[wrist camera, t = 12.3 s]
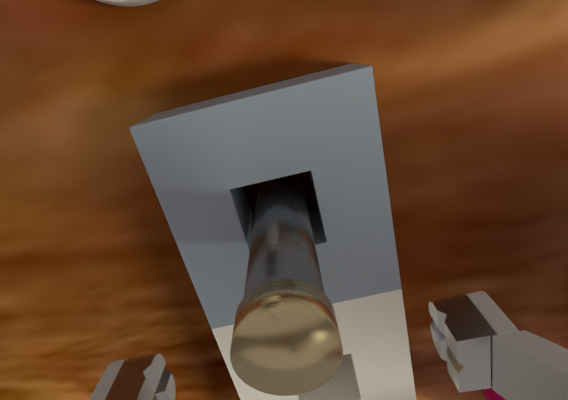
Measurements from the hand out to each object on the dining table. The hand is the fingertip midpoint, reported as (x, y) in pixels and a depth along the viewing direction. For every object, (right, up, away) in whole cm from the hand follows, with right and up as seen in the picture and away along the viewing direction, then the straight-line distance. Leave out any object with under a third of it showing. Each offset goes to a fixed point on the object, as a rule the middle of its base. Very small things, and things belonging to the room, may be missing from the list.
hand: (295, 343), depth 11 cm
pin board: (+1, -1, +15) cm, 15 cm away
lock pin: (-1, +5, +13) cm, 14 cm away
